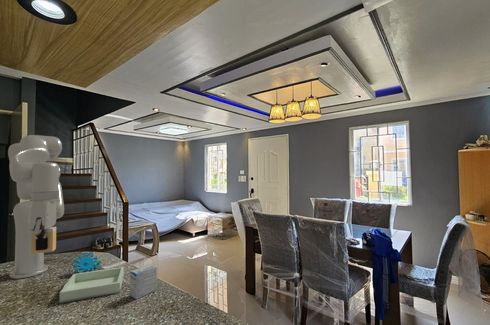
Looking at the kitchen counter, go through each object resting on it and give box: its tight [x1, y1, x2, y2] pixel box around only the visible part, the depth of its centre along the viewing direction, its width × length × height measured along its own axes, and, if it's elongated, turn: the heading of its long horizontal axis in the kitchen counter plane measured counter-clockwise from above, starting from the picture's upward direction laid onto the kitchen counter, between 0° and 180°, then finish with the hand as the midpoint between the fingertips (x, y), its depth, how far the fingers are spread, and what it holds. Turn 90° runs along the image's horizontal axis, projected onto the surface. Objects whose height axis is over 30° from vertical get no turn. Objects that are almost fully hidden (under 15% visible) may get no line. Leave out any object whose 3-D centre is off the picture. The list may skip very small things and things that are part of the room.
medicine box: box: [129, 264, 158, 300], centre depth 86 cm, size 8×4×9 cm, turn 145°
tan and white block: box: [31, 226, 57, 254], centre depth 86 cm, size 4×6×8 cm, turn 113°
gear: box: [72, 252, 103, 273], centre depth 106 cm, size 11×6×10 cm
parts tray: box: [59, 266, 125, 304], centre depth 91 cm, size 16×18×4 cm
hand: (44, 247), depth 85 cm, fingers closed on tan and white block, 3 cm apart
